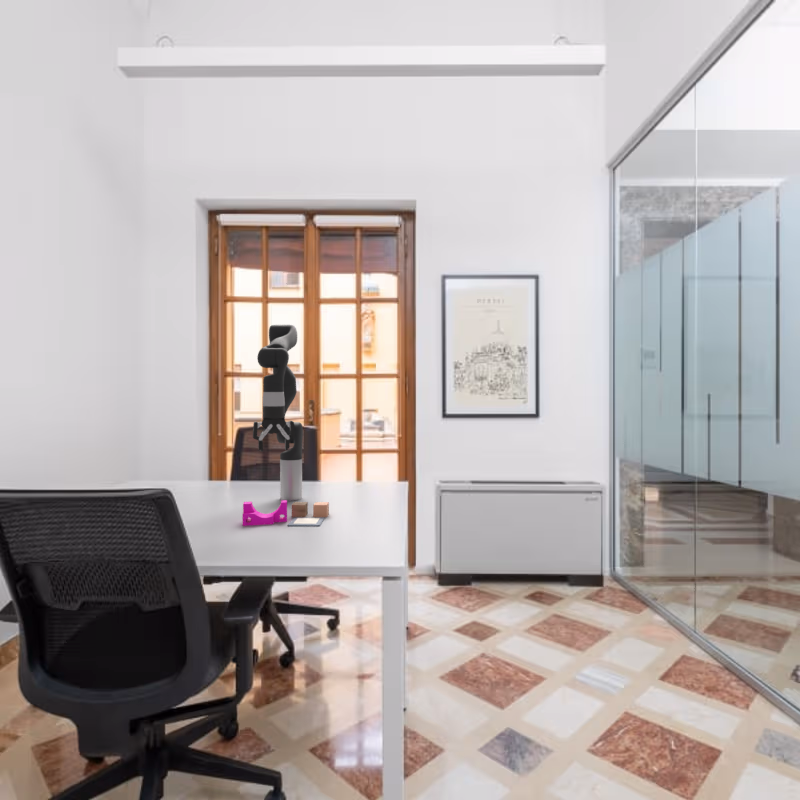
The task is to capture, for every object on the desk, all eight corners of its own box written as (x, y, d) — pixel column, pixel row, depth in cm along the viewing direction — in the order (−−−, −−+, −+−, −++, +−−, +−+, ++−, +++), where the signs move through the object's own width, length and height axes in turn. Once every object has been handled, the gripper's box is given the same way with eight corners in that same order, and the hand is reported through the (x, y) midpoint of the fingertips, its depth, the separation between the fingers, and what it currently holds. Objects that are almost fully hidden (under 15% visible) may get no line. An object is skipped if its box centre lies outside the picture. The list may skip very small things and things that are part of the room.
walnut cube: (294, 515, 201) (294, 502, 200) (307, 515, 200) (307, 502, 200) (291, 518, 196) (291, 504, 195) (305, 518, 195) (305, 504, 195)
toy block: (242, 527, 183) (242, 505, 183) (244, 522, 190) (244, 501, 189) (286, 525, 186) (286, 503, 186) (287, 520, 193) (287, 500, 192)
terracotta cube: (315, 515, 200) (315, 502, 200) (328, 515, 200) (328, 502, 200) (313, 518, 195) (313, 505, 195) (326, 518, 195) (326, 505, 195)
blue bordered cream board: (294, 519, 194) (294, 516, 194) (324, 519, 193) (324, 517, 193) (287, 527, 183) (287, 524, 183) (319, 527, 182) (319, 524, 182)
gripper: (292, 404, 193) (292, 448, 194) (251, 404, 188) (252, 450, 189) (295, 405, 186) (296, 451, 187) (253, 405, 181) (254, 452, 182)
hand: (274, 450), depth 188 cm, fingers open, 8 cm apart
